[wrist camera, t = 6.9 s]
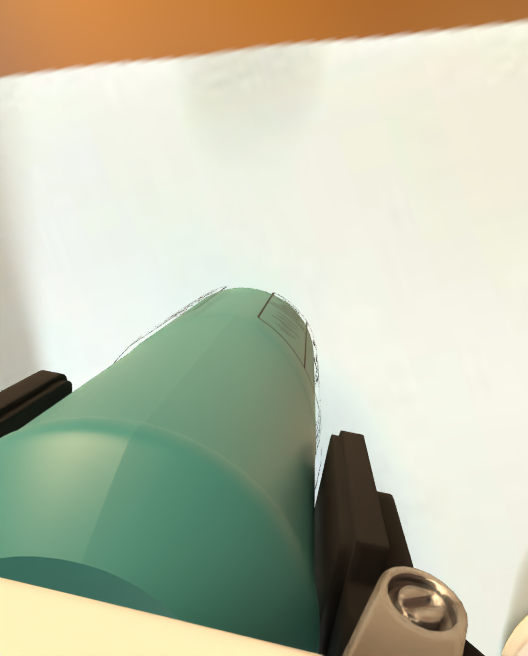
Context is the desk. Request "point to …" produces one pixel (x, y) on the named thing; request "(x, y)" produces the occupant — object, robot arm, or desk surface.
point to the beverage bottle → (180, 477)
